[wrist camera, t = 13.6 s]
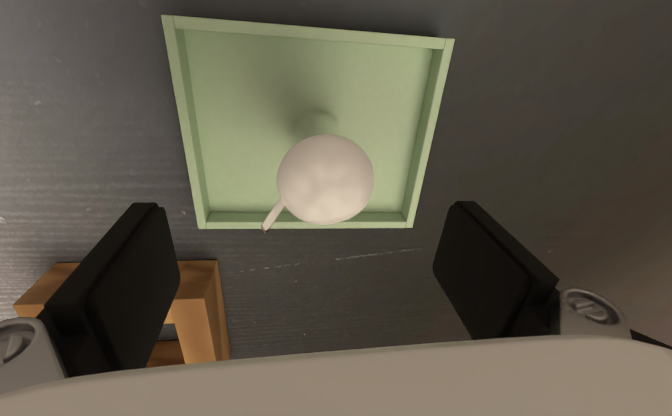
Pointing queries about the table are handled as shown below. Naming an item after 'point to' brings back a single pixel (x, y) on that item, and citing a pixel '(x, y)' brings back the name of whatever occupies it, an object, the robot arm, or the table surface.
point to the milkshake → (322, 173)
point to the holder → (186, 312)
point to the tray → (300, 111)
